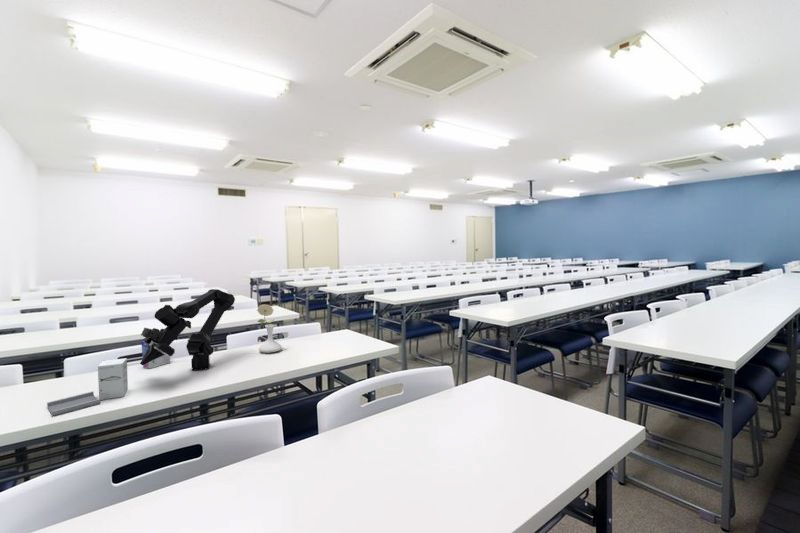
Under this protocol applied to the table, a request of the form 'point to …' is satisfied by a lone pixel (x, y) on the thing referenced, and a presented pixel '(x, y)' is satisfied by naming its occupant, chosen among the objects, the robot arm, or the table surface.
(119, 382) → the supplement box
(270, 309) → the flower in vase
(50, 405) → the tray
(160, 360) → the ink cartridge box
